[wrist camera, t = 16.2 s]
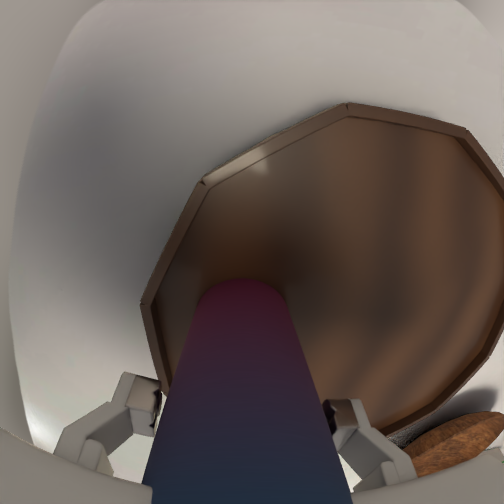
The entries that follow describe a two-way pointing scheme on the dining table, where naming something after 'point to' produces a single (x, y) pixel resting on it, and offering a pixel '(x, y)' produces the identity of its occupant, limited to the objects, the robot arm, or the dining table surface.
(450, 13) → the dining table surface
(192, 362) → the cup
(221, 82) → the dining table surface
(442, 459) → the bowl
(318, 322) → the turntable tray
